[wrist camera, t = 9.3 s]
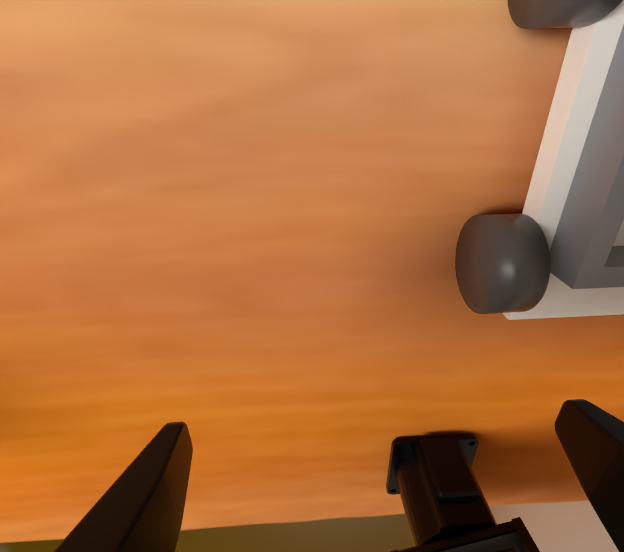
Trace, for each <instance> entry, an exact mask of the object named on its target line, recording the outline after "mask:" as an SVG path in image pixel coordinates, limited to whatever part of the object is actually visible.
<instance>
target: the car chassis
mask: <svg viewBox="0 0 624 552" xmlns="http://www.w3.org/2000/svg"><path fill="white" fill-rule="evenodd" d="M508 7H509V12H510V15H511V18H512V19H513V21H514V23H515V24H516V25H517V26H519V27H520V28H524V29H533V28H572V31H571V35H570V39H569V43H568V46H567V50H566V54H565V57H564V61H563V65H562V68H561V72H560V76H559V79H558V83H557V87H556V90H555V94H554V98H553V102H552V105H551V109H550V113H549V116H548V120H547V124H546V127H545V131H544V135H543V138H542V142H541V146H540V149H539V153H538V157H537V160H536V164H535V168H534V172H533V175H532V179H531V183H530V186H529V190H528V194H527V197H526V201H525V205H524V208H523V212H522V214H494V215H476V216H473V217H471V218H470V219H469V220H468V221H467V222H466V223H465V225H464V226H463V228H462V230H461V232H460V235H459V238H458V242H457V248H456V260H455V264H456V276H457V282H458V286H459V289H460V292H461V295H462V297H463V299H464V301H465V303H466V304H467V306H468V307H469V308H470V309H471V310H472V311H474V312H476V313H479V314H488V313H503V315H504V316H505V317H506V318H507V319H508V320H517V319H538V318H559V317H579V316H600V315H621V314H624V0H508Z"/></svg>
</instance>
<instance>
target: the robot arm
mask: <svg viewBox="0 0 624 552" xmlns="http://www.w3.org/2000/svg"><path fill="white" fill-rule="evenodd" d="M555 431H556V434H557V436H558V438H559V440H560V442H561V444H562V446H563V448H564V450H565V452H566V455H567V457H568V459H569V461H570V463H571V465H572V467H573V469H574V471H575V473H576V475H577V477H578V479H579V482H580V484H581V486H582V488H583V490H584V492H585V494H586V495H587V497H588V499H589V501H590V503H591V504H592V506H593V508H594V510H595V511H596V513H597V515H598V517H599V518H600V520H601V522H602V523H603V525H604V527H605V528H606V530H607V532H608V533H609V535H610V537H611V539H612V540H613V542H614V544H615V545H616V547H617V549H618V550H619V552H624V422H622V421H621V420H619V419H617V418H616V417H614V416H612V415H611V414H609V413H607V412H606V411H604V410H602V409H600V408H599V407H597V406H595V405H594V404H592V403H590V402H589V401H586V400H583V399H576V400H567V401H565V402H564V403H563V405H562V407H561V410H560V412H559V414H558V416H557V419H556V421H555ZM477 446H478V440H477V438H476V436H475V435H471V434H470V435H453V436H436V437H420V438H403V439H396V440H394V441H393V442H392V446H391V453H390V461H389V468H388V476H387V484H386V488H387V493H388V494H400V495H401V499H402V503H403V507H404V510H405V514H406V518H407V522H408V526H409V529H410V533H411V537H412V541H413V544H414V547H411V548H408V549H404V550H400V551H398V550H393V551H390V552H540V551H539V549H538V548H537V546H536V544H535V543H534V541H533V539H532V537H531V536H530V534H529V532H528V530H527V529H526V527H525V525H524V523H523V522H522V520H521V518H520V517H518V518H514V519H512V521H510V522H506V523H502V524H498V525H497V523H496V521H495V519H494V517H493V515H492V513H491V511H490V508H489V506H488V504H487V502H486V499H485V497H484V495H483V493H482V491H481V489H480V486H479V484H478V482H477V480H476V478H475V476H474V473H473V471H472V469H471V465H472V462H473V459H474V456H475V452H476V449H477ZM192 451H193V447H192V442H191V438H190V435H189V431H188V428H187V425H186V423H185V422H171V423H167V424H166V425H165V426H164V427H163V428H162V429H161V430H160V431H159V432H158V433H157V435H156V436H155V437H154V438H153V439H152V440H151V441H150V443H149V444H148V445H147V446H146V447H145V448H144V449H143V450H142V452H141V453H140V454H139V455H138V456H137V457H136V458H135V460H134V461H133V462H132V463H131V464H130V465H129V466H128V468H127V469H126V470H125V471H124V472H123V473H122V474H121V476H120V477H119V478H118V479H117V480H116V481H115V482H114V483H113V485H112V486H111V487H110V488H109V489H108V490H107V491H106V493H105V494H104V495H103V496H102V497H101V498H100V499H99V501H98V502H97V503H96V504H95V505H94V506H93V507H92V508H91V510H90V511H89V512H88V513H87V514H86V515H85V516H84V518H83V519H82V520H81V521H80V522H79V523H78V524H77V526H76V527H75V528H74V529H73V530H72V531H71V532H70V534H69V535H68V536H67V537H66V538H65V539H64V540H63V541H62V543H61V544H60V545H59V546H58V548H57V549H55V551H54V552H175V549H176V545H177V541H178V537H179V533H180V529H181V524H182V518H183V512H184V506H185V499H186V493H187V486H188V479H189V473H190V466H191V460H192Z"/></svg>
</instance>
